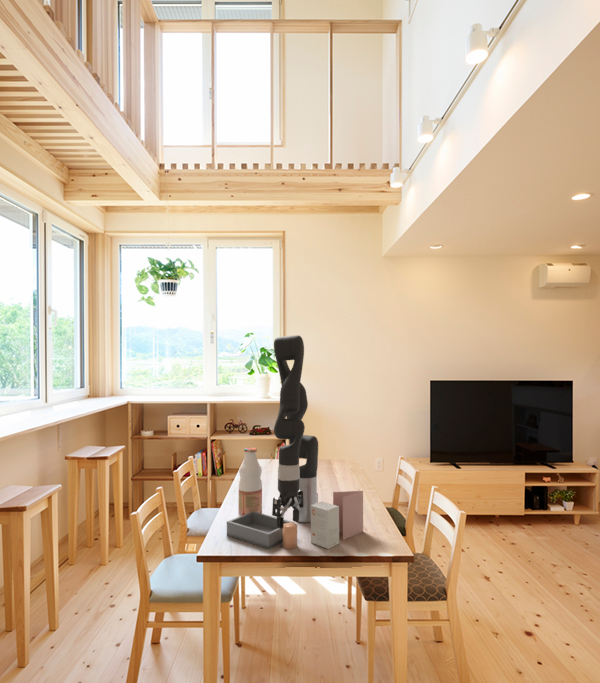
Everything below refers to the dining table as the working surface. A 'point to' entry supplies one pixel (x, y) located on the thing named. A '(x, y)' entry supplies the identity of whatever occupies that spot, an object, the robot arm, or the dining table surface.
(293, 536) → the peach rounded piece
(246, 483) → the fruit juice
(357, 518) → the greeting card
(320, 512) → the small box
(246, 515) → the tote
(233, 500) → the dining table surface
